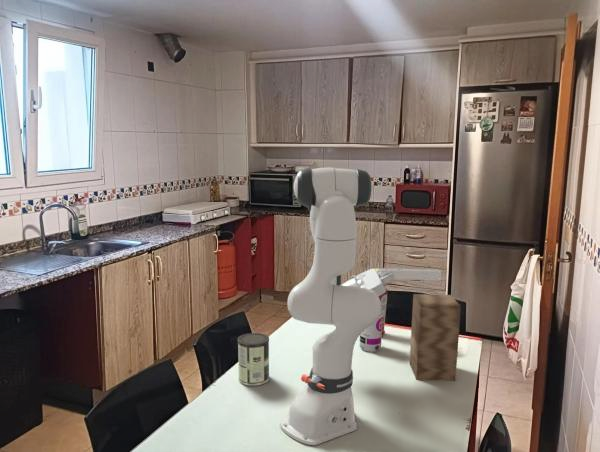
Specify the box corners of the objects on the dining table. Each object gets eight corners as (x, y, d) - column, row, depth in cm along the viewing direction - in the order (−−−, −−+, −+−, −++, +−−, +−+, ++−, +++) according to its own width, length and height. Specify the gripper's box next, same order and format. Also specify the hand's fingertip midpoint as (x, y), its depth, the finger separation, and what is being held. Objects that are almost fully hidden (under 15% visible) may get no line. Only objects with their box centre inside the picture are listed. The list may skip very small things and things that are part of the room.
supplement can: (384, 347, 193) (385, 310, 191) (375, 354, 186) (377, 316, 184) (365, 342, 197) (366, 306, 195) (355, 349, 191) (357, 311, 188)
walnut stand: (416, 379, 167) (420, 305, 163) (409, 363, 179) (413, 294, 174) (455, 380, 167) (460, 306, 162) (446, 364, 178) (450, 295, 174)
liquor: (377, 339, 201) (380, 271, 196) (363, 334, 206) (366, 268, 201) (389, 335, 205) (392, 269, 201) (375, 329, 211) (378, 265, 206)
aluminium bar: (380, 279, 166) (380, 270, 166) (379, 276, 169) (379, 268, 168) (440, 280, 165) (441, 271, 165) (438, 278, 168) (439, 269, 168)
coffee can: (256, 369, 173) (255, 330, 171) (275, 379, 165) (275, 338, 163) (231, 378, 166) (231, 337, 164) (251, 389, 158) (250, 347, 156)
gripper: (354, 292, 158) (393, 272, 156) (349, 275, 178) (384, 257, 177) (363, 309, 159) (402, 289, 157) (358, 290, 179) (392, 272, 177)
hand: (392, 272), depth 167 cm, fingers closed on aluminium bar, 3 cm apart
